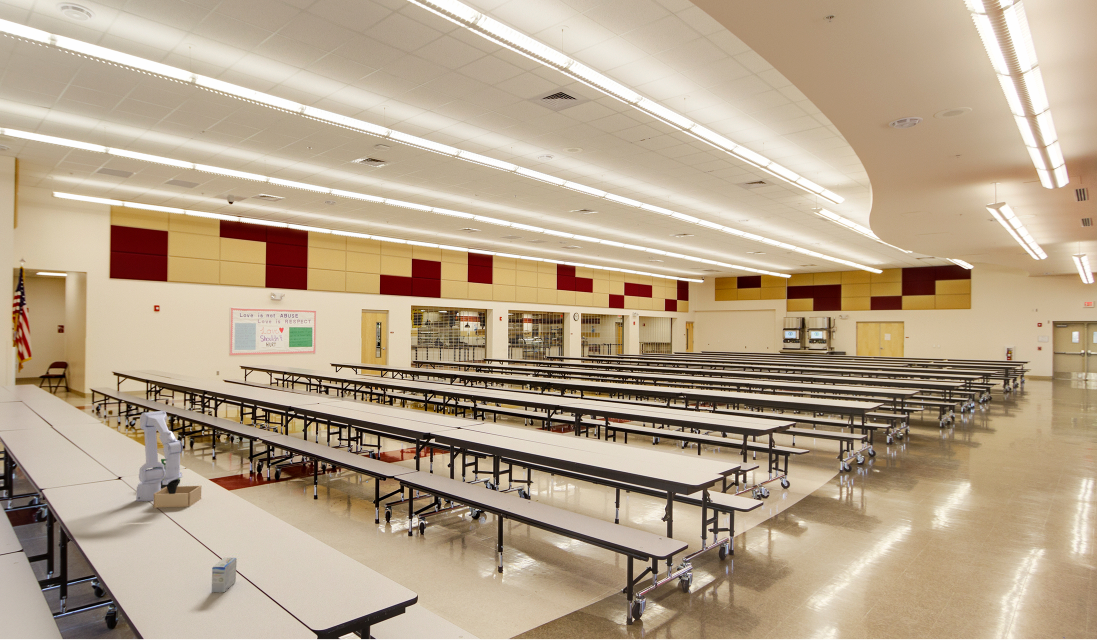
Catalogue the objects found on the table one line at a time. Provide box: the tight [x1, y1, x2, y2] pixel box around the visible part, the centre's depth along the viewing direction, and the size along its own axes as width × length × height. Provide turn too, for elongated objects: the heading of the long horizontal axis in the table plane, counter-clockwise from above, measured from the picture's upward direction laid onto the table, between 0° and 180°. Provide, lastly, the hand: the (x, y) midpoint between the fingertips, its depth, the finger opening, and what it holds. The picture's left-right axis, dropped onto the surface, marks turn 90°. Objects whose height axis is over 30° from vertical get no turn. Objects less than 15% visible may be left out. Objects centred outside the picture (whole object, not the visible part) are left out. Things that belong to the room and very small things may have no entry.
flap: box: [155, 493, 188, 508], centre depth 267 cm, size 14×1×6 cm, turn 100°
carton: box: [153, 485, 202, 509], centre depth 273 cm, size 16×12×7 cm
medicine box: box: [211, 557, 237, 593], centre depth 190 cm, size 8×4×9 cm, turn 5°
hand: (172, 495), depth 267 cm, fingers closed, pressing on flap
